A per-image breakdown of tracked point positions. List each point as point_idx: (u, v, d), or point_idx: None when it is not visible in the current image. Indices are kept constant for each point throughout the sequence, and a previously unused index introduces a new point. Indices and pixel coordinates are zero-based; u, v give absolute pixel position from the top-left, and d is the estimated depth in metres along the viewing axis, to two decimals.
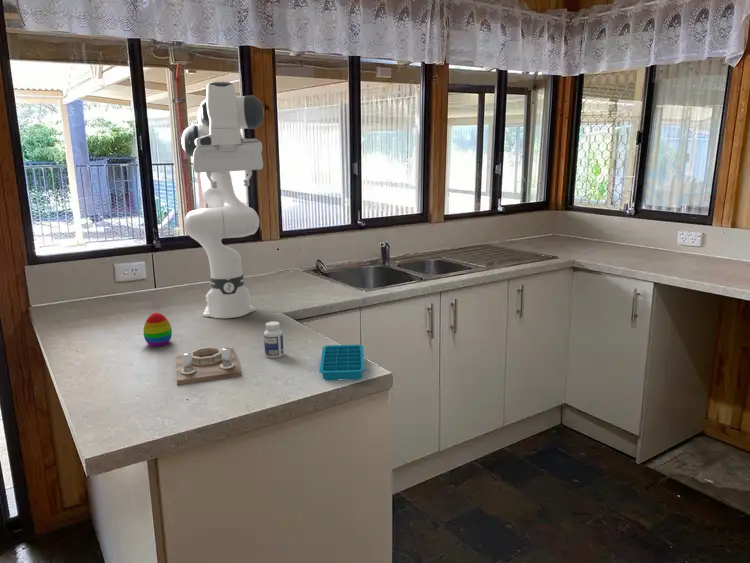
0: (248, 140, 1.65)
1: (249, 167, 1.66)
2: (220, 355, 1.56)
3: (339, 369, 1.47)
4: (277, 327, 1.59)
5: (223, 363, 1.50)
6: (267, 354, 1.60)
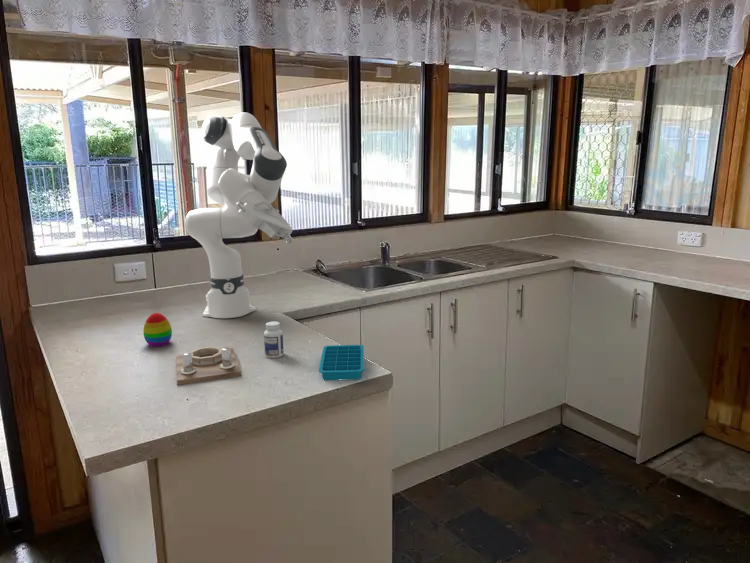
0: None
1: None
2: (220, 355, 1.56)
3: (338, 369, 1.47)
4: (277, 327, 1.59)
5: (223, 363, 1.50)
6: (267, 354, 1.60)
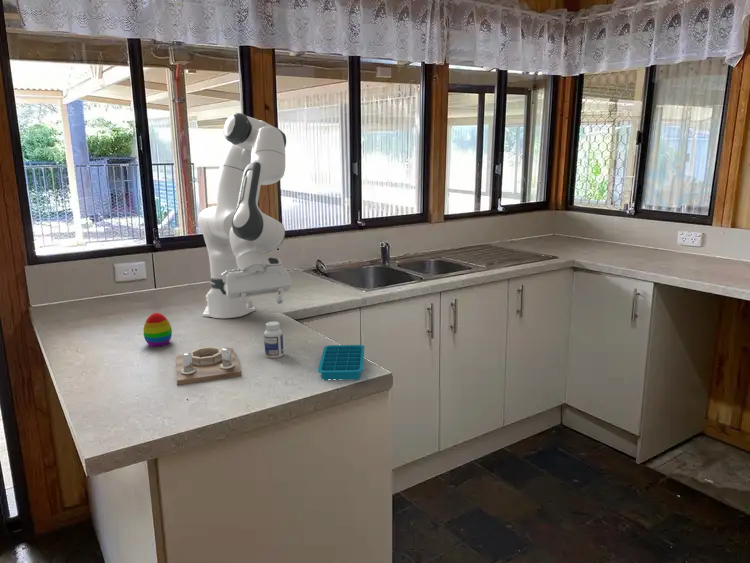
0: None
1: None
2: (220, 355, 1.56)
3: (338, 369, 1.47)
4: (277, 327, 1.59)
5: (223, 363, 1.50)
6: (267, 354, 1.60)
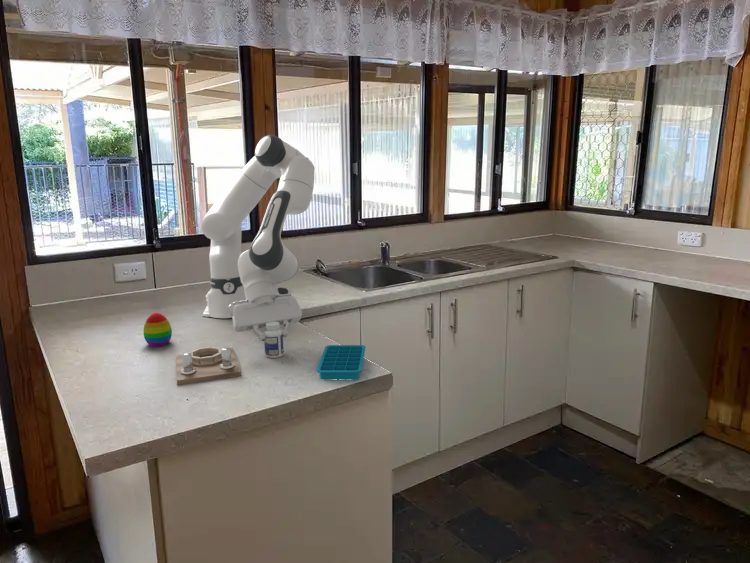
0: None
1: None
2: (220, 355, 1.56)
3: (337, 369, 1.47)
4: (277, 327, 1.59)
5: (223, 363, 1.50)
6: (267, 354, 1.60)
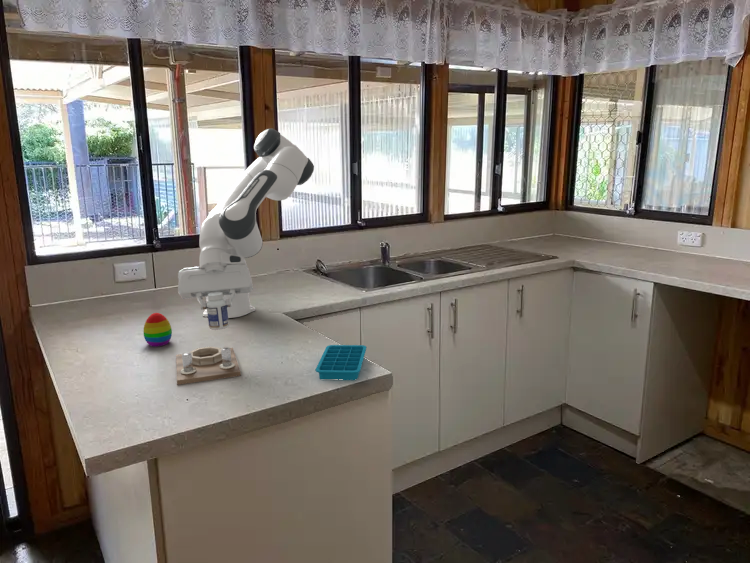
0: None
1: None
2: (220, 355, 1.56)
3: (336, 369, 1.47)
4: (217, 297, 1.52)
5: (223, 363, 1.50)
6: (209, 325, 1.54)
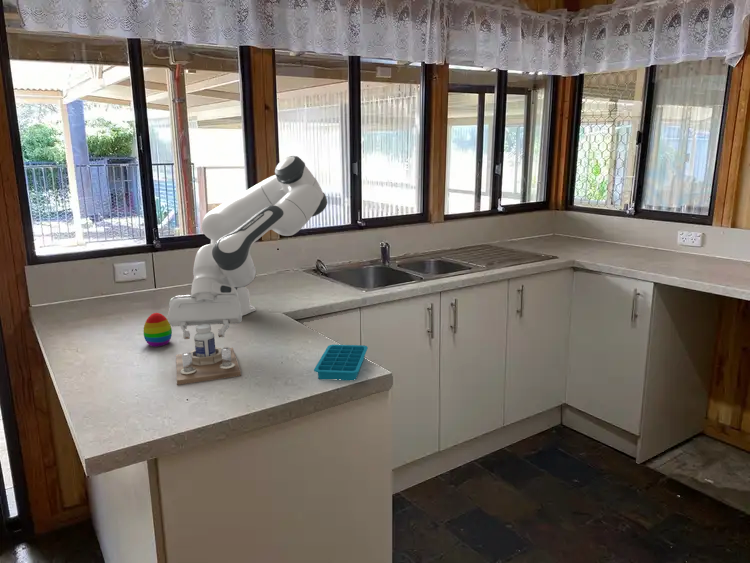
0: None
1: None
2: (220, 355, 1.56)
3: (335, 369, 1.47)
4: (205, 331, 1.53)
5: (223, 363, 1.50)
6: None
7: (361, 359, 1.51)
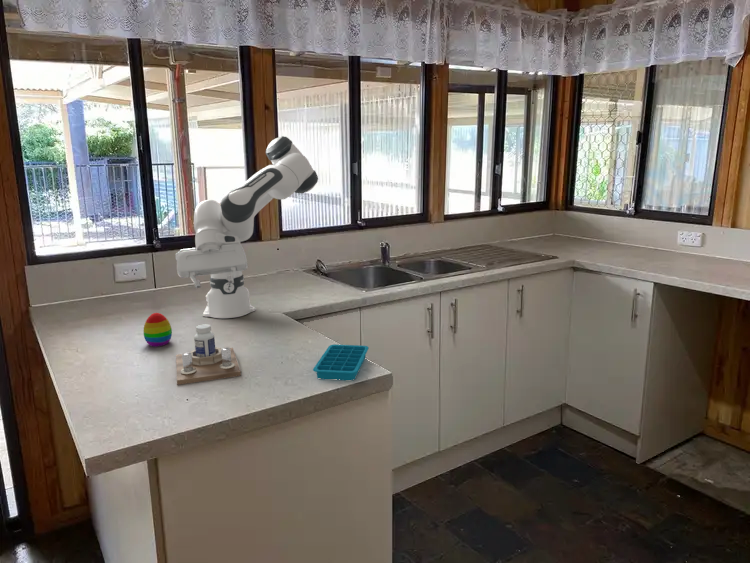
0: None
1: None
2: (220, 355, 1.56)
3: (334, 369, 1.47)
4: (205, 331, 1.53)
5: (223, 363, 1.50)
6: None
7: (361, 359, 1.51)
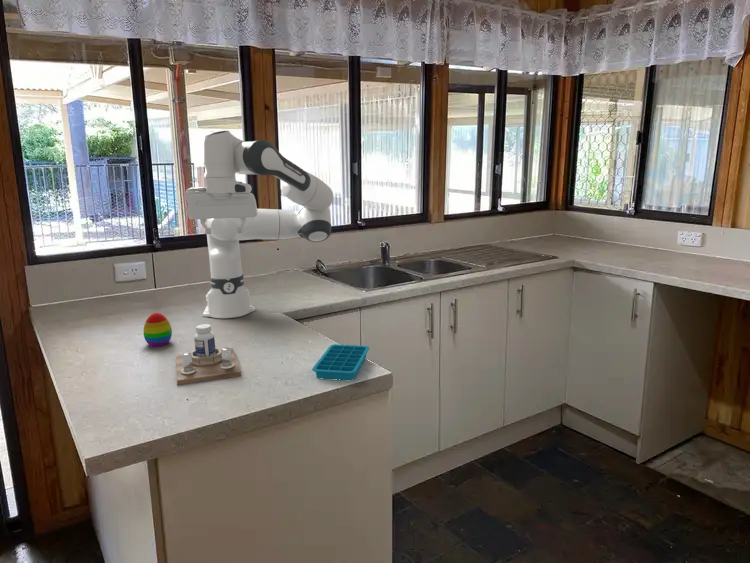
0: None
1: None
2: (220, 355, 1.56)
3: (333, 369, 1.47)
4: (205, 331, 1.53)
5: (223, 363, 1.50)
6: None
7: (360, 359, 1.51)
